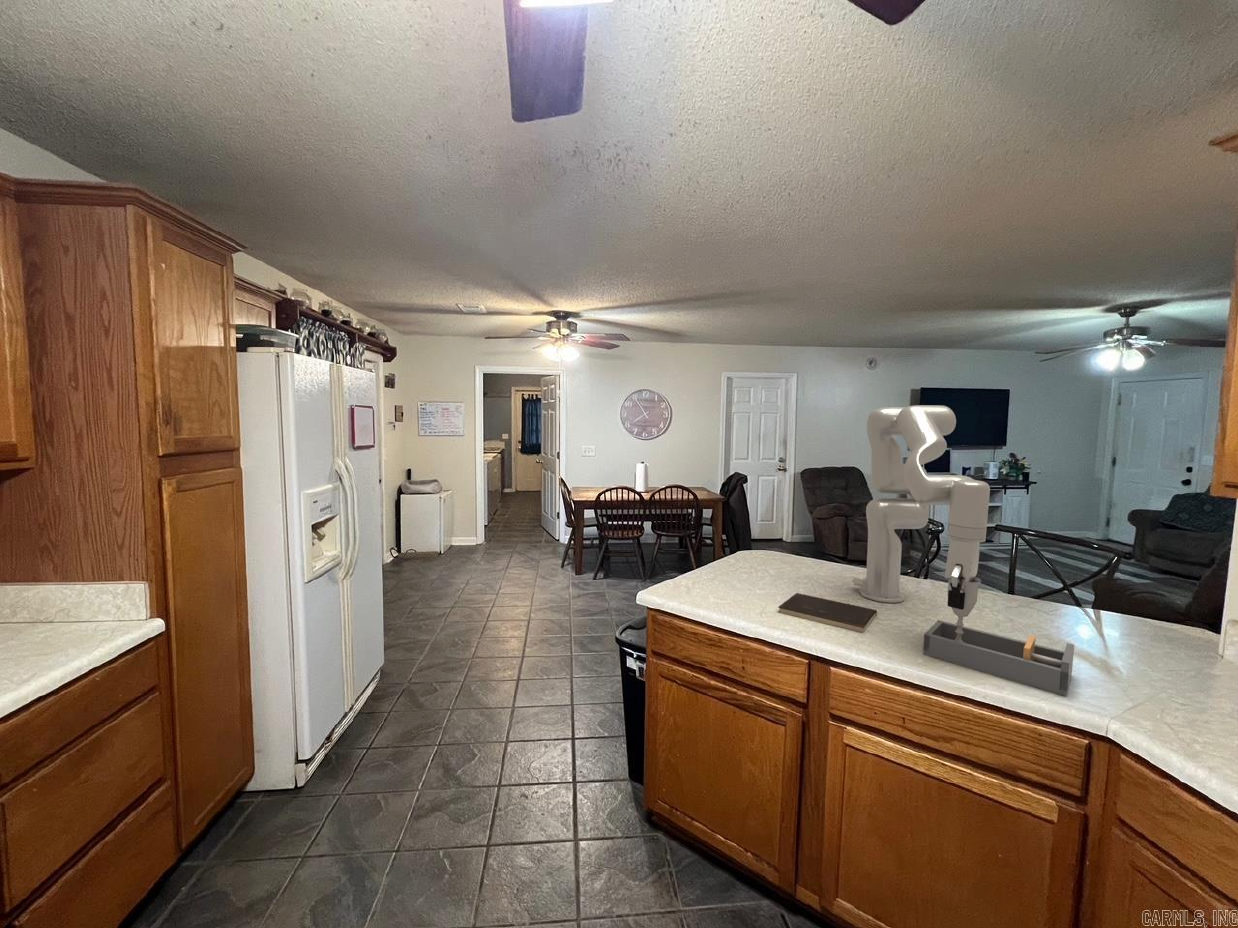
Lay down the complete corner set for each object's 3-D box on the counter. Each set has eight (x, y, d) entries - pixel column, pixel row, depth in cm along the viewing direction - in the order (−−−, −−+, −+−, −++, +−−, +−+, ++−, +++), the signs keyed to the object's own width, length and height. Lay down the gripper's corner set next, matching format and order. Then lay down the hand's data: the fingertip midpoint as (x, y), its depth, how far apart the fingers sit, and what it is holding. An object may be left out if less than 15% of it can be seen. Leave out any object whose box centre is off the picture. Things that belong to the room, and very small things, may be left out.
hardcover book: (863, 635, 134) (863, 626, 134) (777, 614, 149) (778, 606, 148) (876, 617, 147) (877, 609, 147) (797, 599, 161) (797, 592, 161)
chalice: (981, 660, 117) (987, 583, 116) (948, 656, 118) (954, 580, 117) (966, 646, 124) (972, 574, 123) (935, 643, 126) (941, 572, 124)
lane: (922, 654, 122) (924, 625, 122) (936, 638, 131) (938, 612, 130) (1066, 696, 104) (1069, 663, 103) (1071, 675, 113) (1074, 644, 112)
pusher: (1021, 674, 110) (1023, 647, 110) (1027, 660, 117) (1029, 635, 116) (1059, 684, 106) (1061, 657, 105) (1063, 669, 112) (1065, 643, 112)
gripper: (956, 523, 129) (951, 589, 131) (938, 535, 117) (932, 607, 118) (993, 529, 123) (986, 597, 125) (977, 542, 111) (971, 617, 113)
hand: (960, 602), depth 122 cm, fingers open, 9 cm apart
